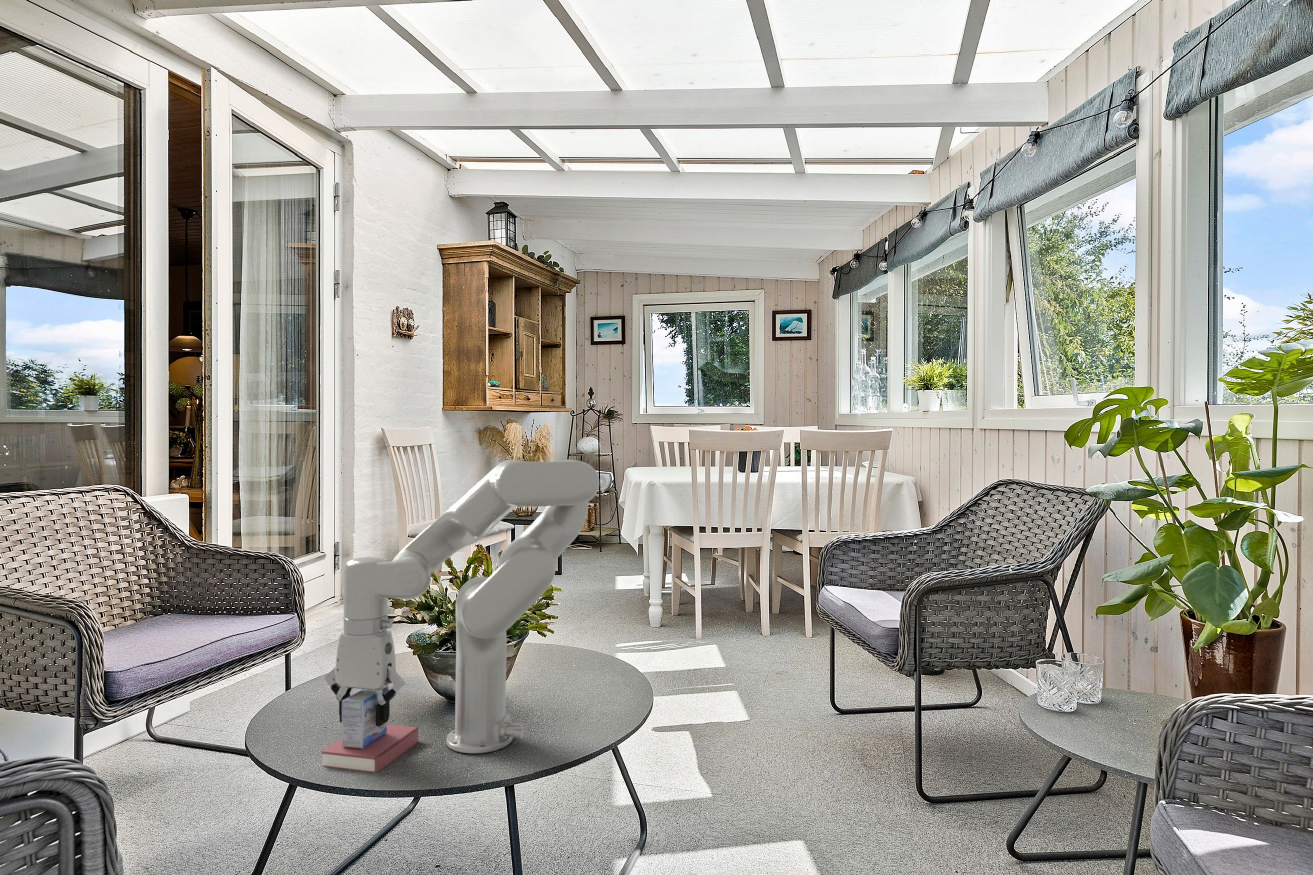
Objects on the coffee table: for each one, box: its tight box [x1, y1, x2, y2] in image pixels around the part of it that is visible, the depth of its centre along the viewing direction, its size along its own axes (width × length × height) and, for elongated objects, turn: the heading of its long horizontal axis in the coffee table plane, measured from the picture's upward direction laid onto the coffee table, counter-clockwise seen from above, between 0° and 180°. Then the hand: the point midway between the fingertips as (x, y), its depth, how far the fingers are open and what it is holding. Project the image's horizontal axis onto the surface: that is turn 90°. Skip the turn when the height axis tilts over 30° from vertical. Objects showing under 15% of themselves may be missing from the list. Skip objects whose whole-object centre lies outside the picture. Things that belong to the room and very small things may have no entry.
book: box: [321, 723, 419, 774], centre depth 140 cm, size 11×14×3 cm
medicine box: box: [341, 689, 388, 749], centre depth 139 cm, size 8×4×9 cm, turn 168°
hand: (364, 721), depth 139 cm, fingers open, 6 cm apart
